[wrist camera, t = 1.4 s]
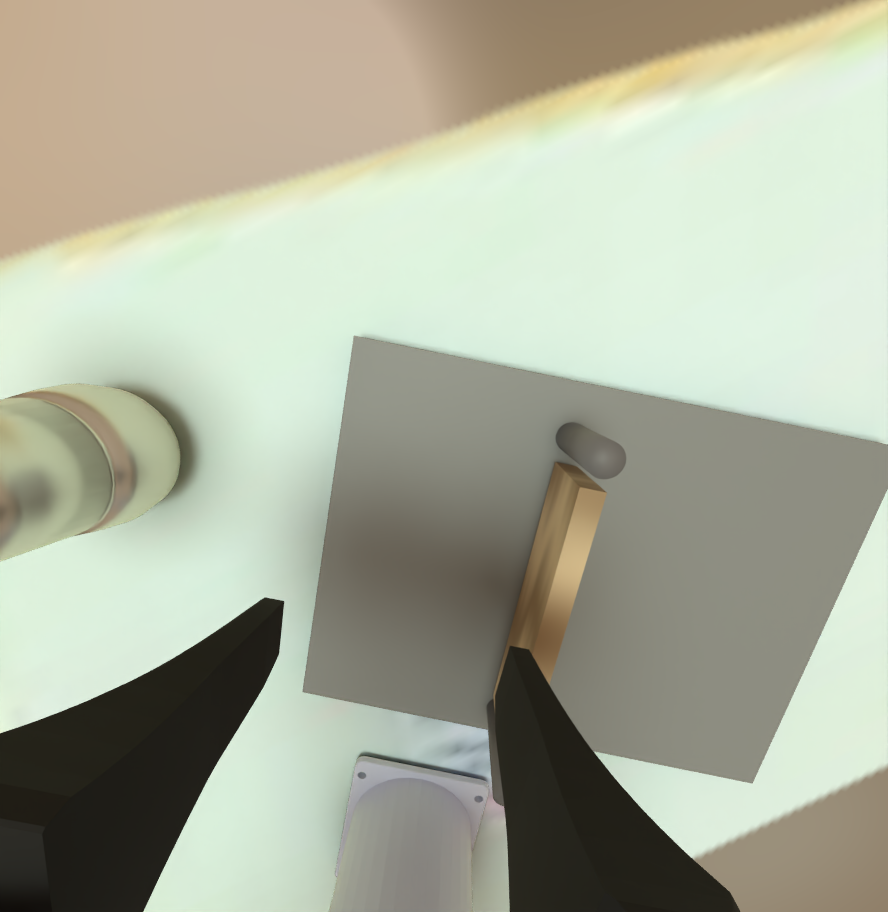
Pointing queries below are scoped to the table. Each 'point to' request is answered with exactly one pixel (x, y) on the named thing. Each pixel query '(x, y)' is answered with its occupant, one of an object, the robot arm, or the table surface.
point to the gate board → (609, 561)
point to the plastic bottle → (79, 463)
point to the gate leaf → (555, 566)
